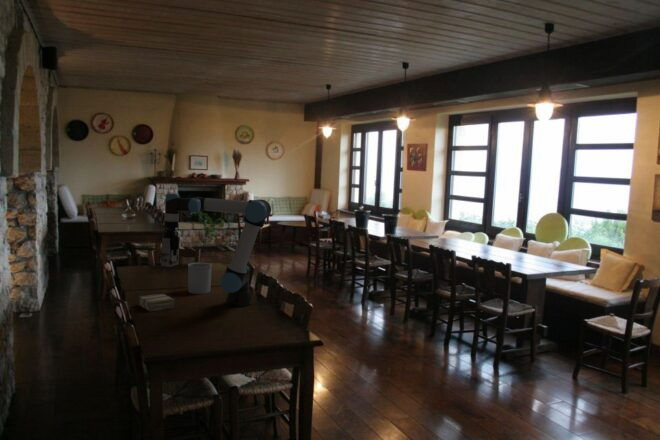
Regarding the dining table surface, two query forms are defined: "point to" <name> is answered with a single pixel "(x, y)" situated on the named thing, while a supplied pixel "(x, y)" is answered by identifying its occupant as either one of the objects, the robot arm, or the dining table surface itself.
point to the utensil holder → (199, 278)
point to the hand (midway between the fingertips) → (170, 259)
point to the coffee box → (168, 252)
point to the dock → (156, 302)
